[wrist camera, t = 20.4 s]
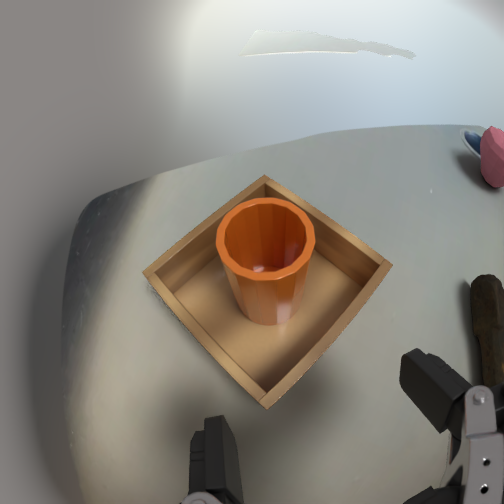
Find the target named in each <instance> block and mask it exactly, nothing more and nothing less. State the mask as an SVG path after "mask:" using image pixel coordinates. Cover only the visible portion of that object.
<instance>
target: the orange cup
mask: <svg viewBox="0 0 504 504" xmlns="http://www.w3.org/2000/svg"><path fill="white" fill-rule="evenodd" d="M314 247H315V233H314V226H313V224H312V223H311V221H310V219H309V218H308V216H307V215H306V213H305V212H304V211H303V210H301V209H300V208H298V207H297V206H295V205H294V204H292V203H291V202H288V201H285V200H281V199H277V198H273V197H271V198H256V199H255V198H254V199H252V200H249V201H246V202H243V203H240V204H238V205H237V206H236V207H235V208H233V209H232V210H231V211H229V212H228V213H227V214H226V215H225V216H224V218H223V220H222V221H221V223H220V225H219V227H218V229H217V235H216V248H217V251H218V253H219V256H220V259H221V262H222V264H223V267H224V270H225V272H226V275H227V277H228V280H229V283H230V285H231V288H232V291H233V293H234V296H235V298H236V301H237V303H238V306H239V308H240V310H241V311H242V313H243V314H244V315H245V316H246V317H247V318H248V319H249V320H251V321H253V322H255V323H257V324H260V325H267V326H271V325H278V324H281V323H284V322H286V321H287V320H289V319H290V318H291V317H293V316H294V315H295V313H296V312H297V311H298V309H299V307H300V305H301V302H302V299H303V296H304V292H305V287H306V283H307V279H308V274H309V270H310V266H311V261H312V256H313V252H314Z"/></svg>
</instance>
